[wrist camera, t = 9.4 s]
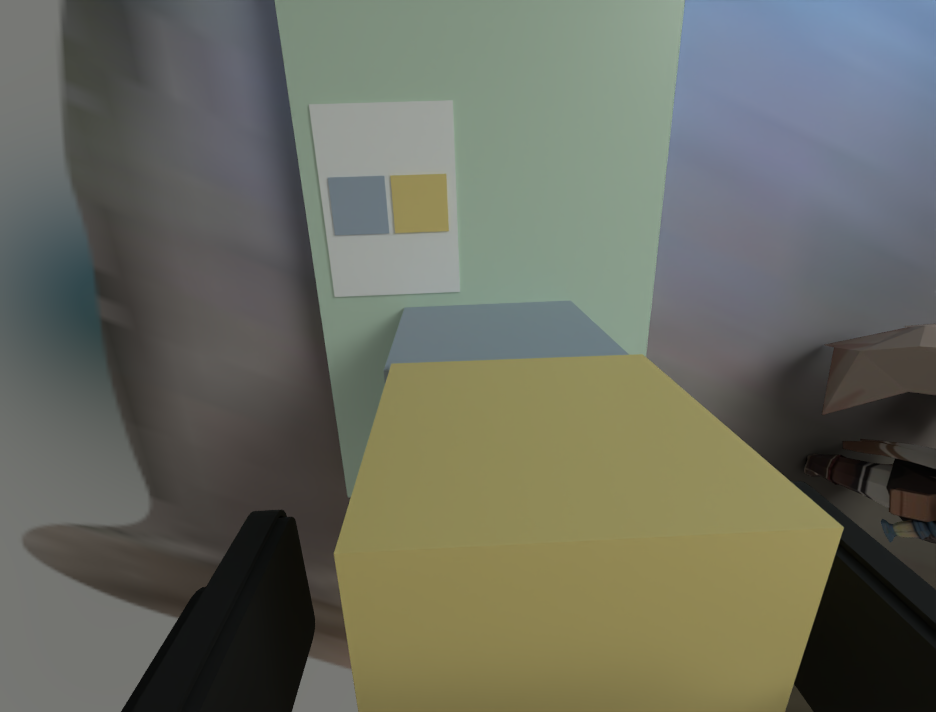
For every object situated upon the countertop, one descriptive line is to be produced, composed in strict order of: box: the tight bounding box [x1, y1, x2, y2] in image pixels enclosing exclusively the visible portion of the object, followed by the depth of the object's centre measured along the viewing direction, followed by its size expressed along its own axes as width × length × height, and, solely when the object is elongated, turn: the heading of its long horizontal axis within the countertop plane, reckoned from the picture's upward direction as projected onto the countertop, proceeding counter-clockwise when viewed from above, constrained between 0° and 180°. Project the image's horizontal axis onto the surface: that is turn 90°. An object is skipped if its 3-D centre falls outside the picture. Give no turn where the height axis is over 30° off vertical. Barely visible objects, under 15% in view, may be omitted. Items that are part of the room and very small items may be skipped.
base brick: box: [384, 301, 629, 383], centre depth 15 cm, size 6×6×6 cm
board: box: [275, 0, 685, 497], centre depth 16 cm, size 22×12×1 cm, turn 2°
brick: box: [334, 354, 844, 712], centre depth 9 cm, size 6×6×6 cm
